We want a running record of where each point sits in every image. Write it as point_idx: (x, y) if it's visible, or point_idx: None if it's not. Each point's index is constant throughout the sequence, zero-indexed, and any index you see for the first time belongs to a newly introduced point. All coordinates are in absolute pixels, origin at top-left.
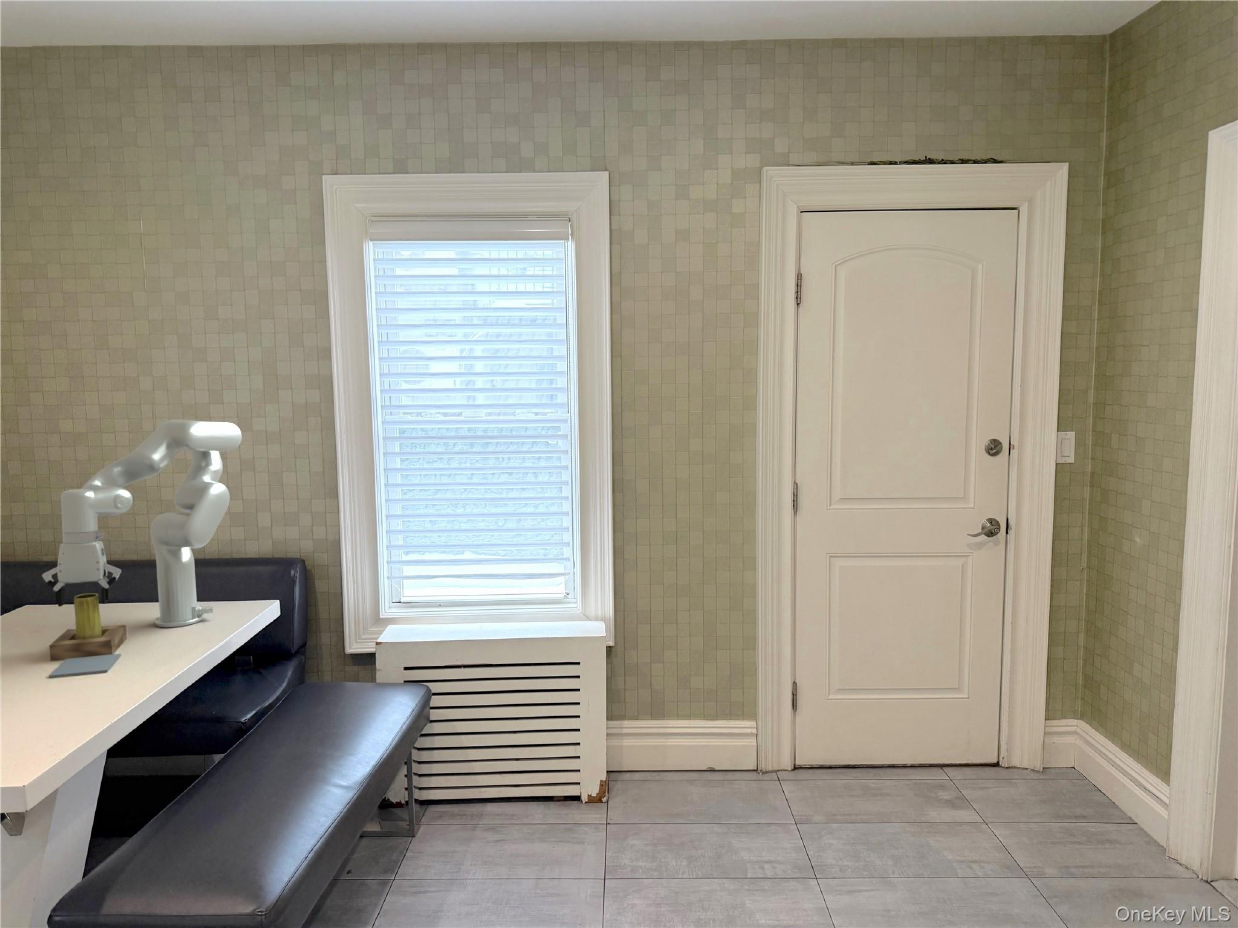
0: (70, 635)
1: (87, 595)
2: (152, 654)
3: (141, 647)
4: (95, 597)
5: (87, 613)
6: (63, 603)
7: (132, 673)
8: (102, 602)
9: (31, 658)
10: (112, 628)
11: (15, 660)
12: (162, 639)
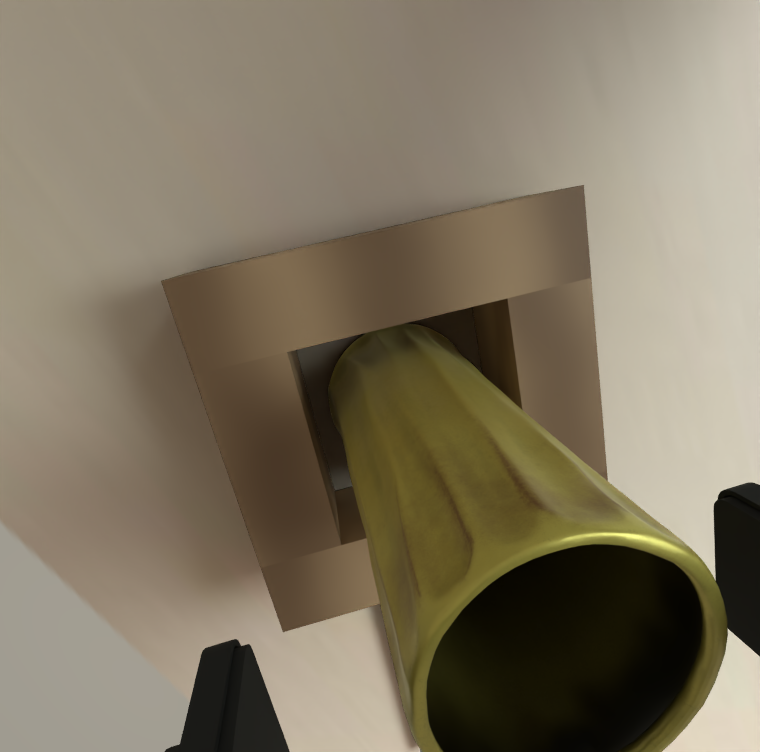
0: (295, 443)
1: (520, 536)
2: (740, 480)
3: (663, 372)
4: (701, 664)
5: (524, 601)
6: (271, 720)
7: (717, 683)
8: (735, 627)
9: (142, 526)
10: (524, 291)
11: (69, 555)
12: (738, 233)
